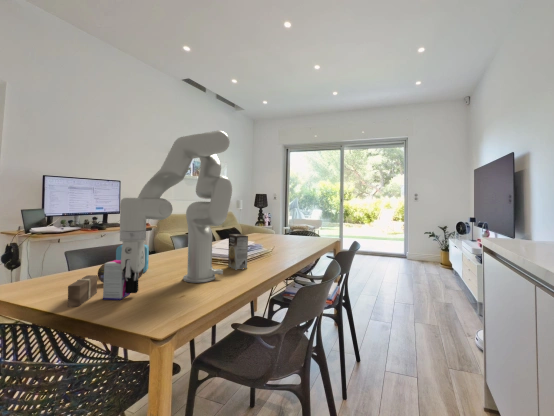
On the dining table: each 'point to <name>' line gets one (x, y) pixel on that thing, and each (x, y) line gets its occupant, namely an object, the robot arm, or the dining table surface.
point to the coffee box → (238, 251)
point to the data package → (119, 252)
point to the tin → (101, 273)
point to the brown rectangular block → (82, 290)
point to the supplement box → (114, 281)
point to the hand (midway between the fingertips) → (132, 292)
